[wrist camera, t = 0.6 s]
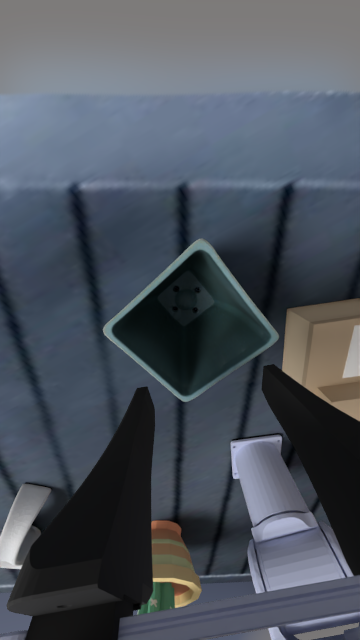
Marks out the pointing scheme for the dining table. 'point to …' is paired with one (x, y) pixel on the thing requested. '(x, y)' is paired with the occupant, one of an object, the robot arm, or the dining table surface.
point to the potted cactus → (170, 570)
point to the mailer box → (300, 326)
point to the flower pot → (192, 324)
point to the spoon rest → (21, 525)
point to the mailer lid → (334, 363)
